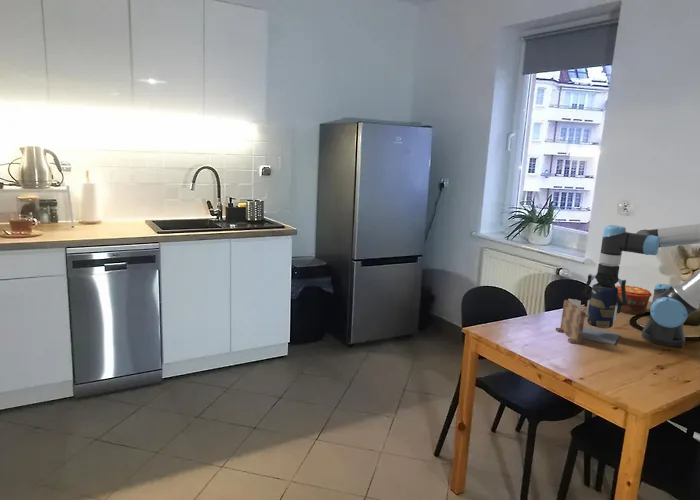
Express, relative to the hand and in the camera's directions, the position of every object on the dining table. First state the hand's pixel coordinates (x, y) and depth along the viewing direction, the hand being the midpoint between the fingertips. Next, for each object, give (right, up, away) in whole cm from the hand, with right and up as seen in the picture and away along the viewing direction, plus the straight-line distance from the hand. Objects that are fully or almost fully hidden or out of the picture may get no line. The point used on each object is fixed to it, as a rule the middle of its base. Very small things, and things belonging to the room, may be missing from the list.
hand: (600, 317), depth 207 cm
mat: (0, -8, +2) cm, 8 cm away
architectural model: (+2, -3, +30) cm, 30 cm away
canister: (0, -4, +1) cm, 4 cm away
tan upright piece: (-13, -8, -1) cm, 15 cm away
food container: (+33, -2, +39) cm, 51 cm away
